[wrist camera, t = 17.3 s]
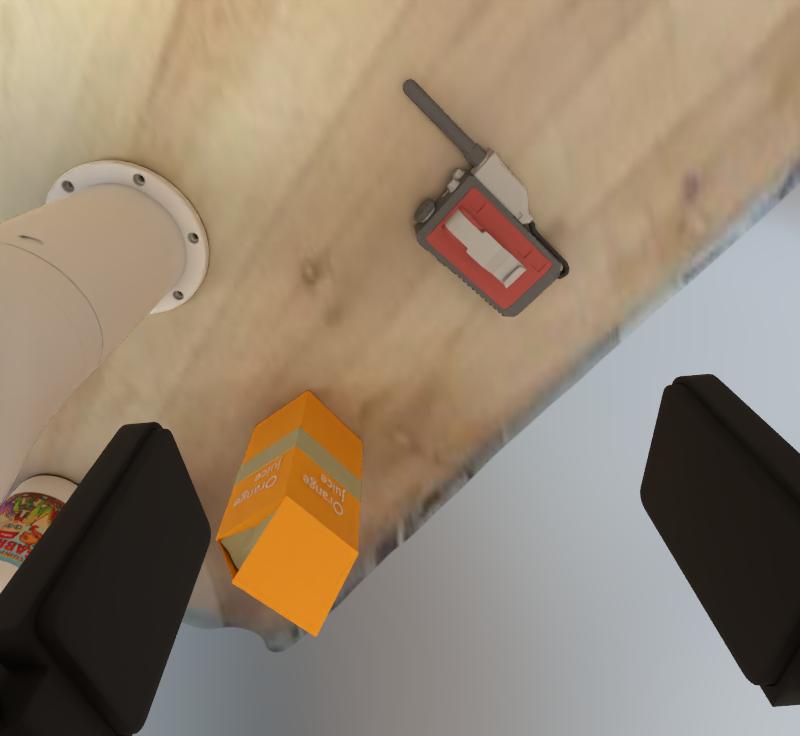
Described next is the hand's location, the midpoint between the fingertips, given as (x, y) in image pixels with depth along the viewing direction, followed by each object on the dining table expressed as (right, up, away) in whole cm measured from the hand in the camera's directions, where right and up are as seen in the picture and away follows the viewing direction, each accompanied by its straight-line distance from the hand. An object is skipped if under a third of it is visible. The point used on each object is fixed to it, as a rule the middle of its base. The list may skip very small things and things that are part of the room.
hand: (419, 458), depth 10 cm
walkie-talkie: (+5, +15, +31) cm, 35 cm away
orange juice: (-10, -5, +43) cm, 45 cm away
